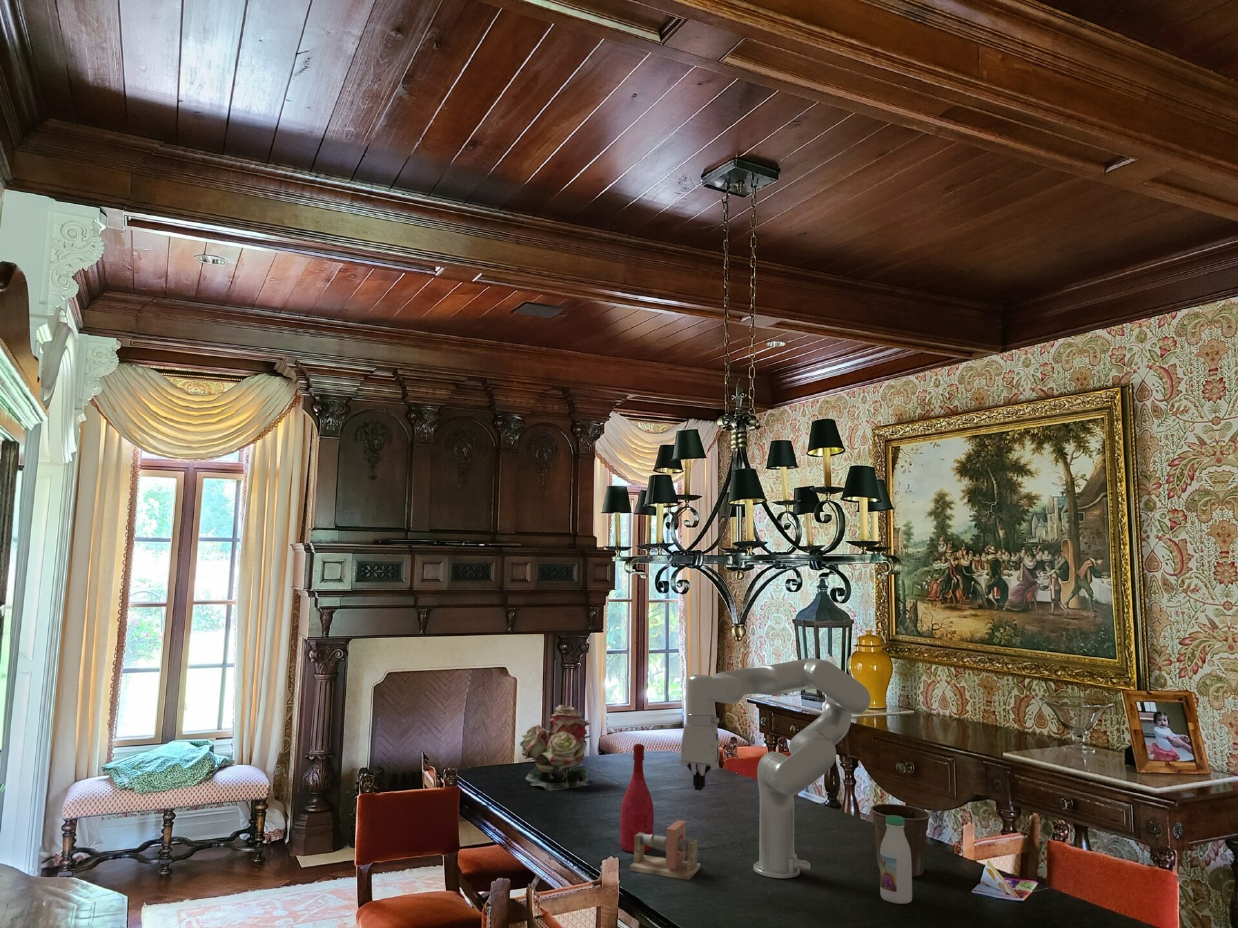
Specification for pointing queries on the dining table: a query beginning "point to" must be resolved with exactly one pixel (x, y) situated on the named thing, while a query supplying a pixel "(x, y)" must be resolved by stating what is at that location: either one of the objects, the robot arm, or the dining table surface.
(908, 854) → the milk bottle
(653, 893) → the dining table surface
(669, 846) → the collar
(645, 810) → the wine bottle
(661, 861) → the rail stand
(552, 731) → the rose bouquet
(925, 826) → the plant pot
